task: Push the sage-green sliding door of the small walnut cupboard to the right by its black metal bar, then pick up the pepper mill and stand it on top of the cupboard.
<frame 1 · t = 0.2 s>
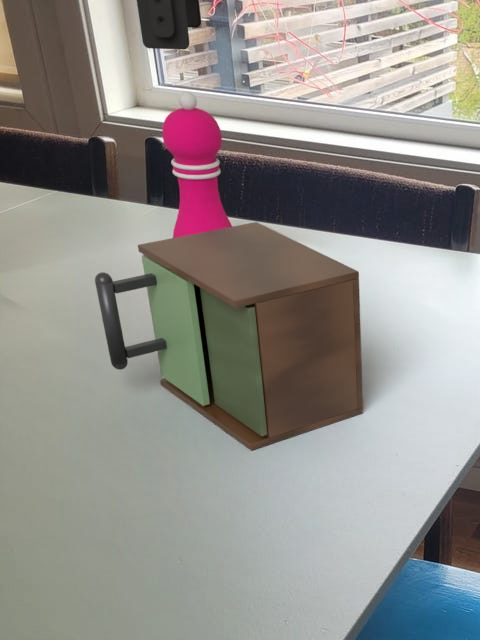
hand: (174, 36, 75), 29 cm above the table, tool pointing down, fingers open, 9 cm apart
cupboard: (269, 396, 93), on the table
pepper mill: (211, 288, 114), on the table
closet door: (149, 337, 87), point 7 cm above the table, slide at 0.0 cm
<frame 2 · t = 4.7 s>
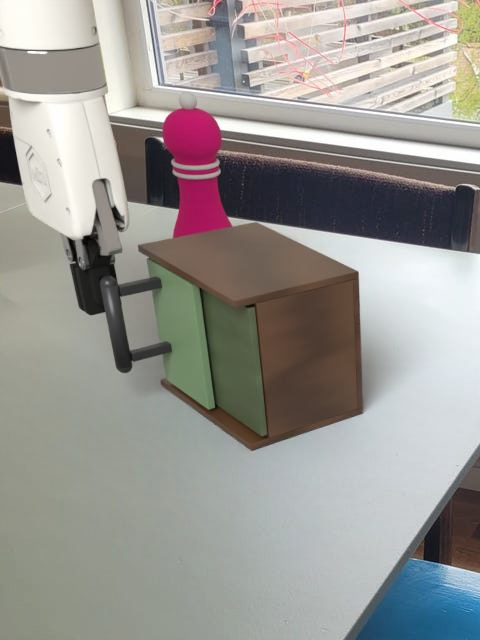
hand: (101, 308, 87), 8 cm above the table, tool pointing down, fingers closed
closet door: (154, 341, 86), point 6 cm above the table, slide at 0.9 cm, touching gripper
everything else where it was.
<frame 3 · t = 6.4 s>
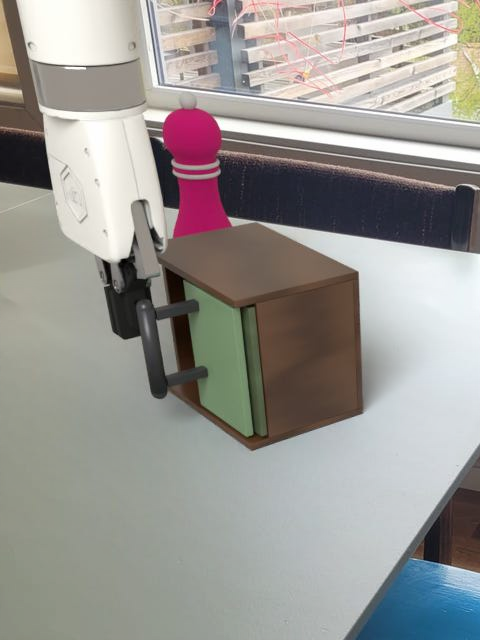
hand: (135, 332, 83), 8 cm above the table, tool pointing down, fingers closed
closet door: (191, 366, 83), point 7 cm above the table, slide at 7.3 cm, touching gripper
everything else where it was.
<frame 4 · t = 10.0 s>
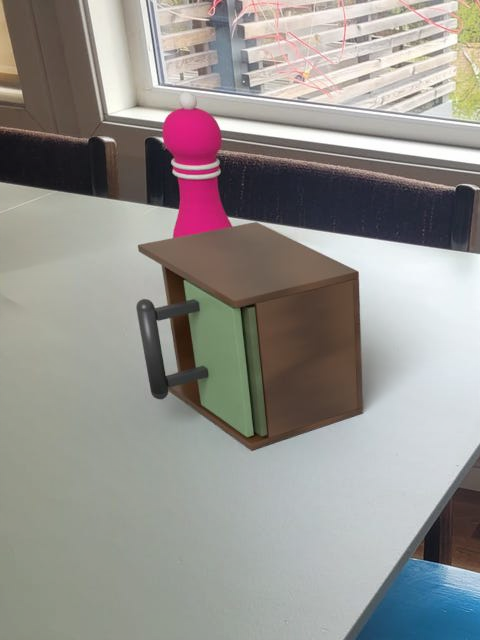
closet door: (191, 366, 83), point 6 cm above the table, slide at 7.4 cm
everything else where it was.
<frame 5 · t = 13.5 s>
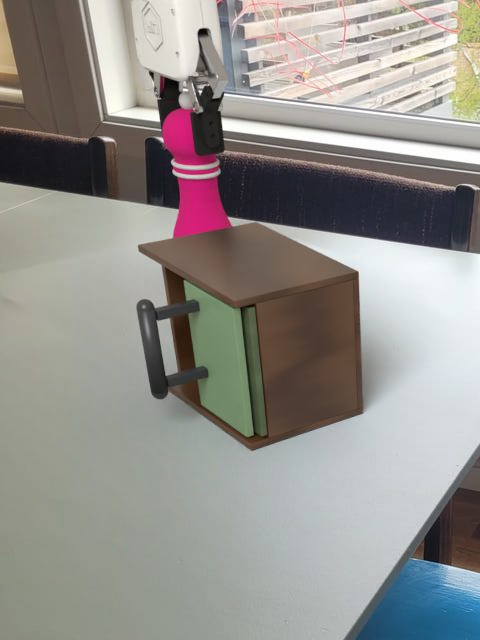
hand: (193, 144, 105), 15 cm above the table, tool pointing down, fingers closed on pepper mill, 6 cm apart
pepper mill: (211, 288, 114), on the table, touching gripper
everything else where it was.
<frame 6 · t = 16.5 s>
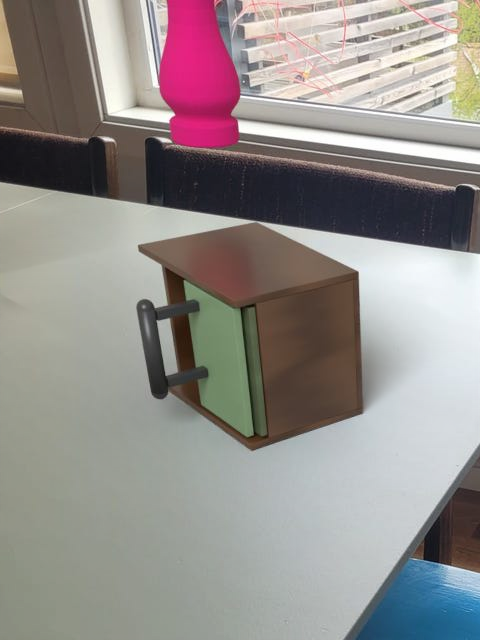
pepper mill: (206, 142, 94), point 18 cm above the table, touching gripper
everything else where it was.
when the fingers open (28 cm above the table, at t = 19.6 s): pepper mill stays where it is, resting on cupboard.
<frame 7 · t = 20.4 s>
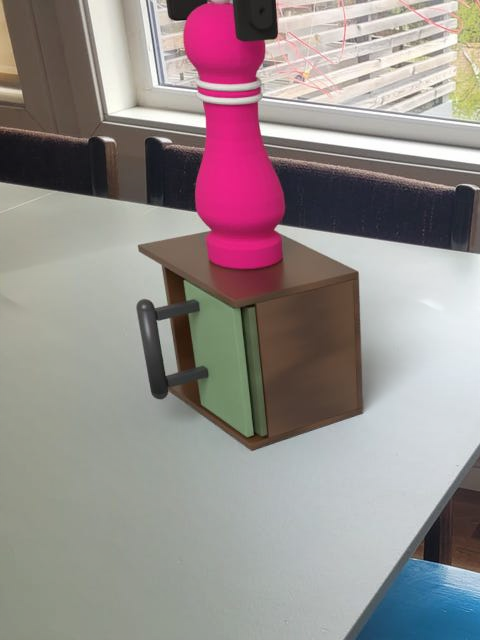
hand: (222, 29, 74), 30 cm above the table, tool pointing down, fingers open, 9 cm apart
pepper mill: (246, 259, 85), point 13 cm above the table, touching cupboard
everything else where it was.
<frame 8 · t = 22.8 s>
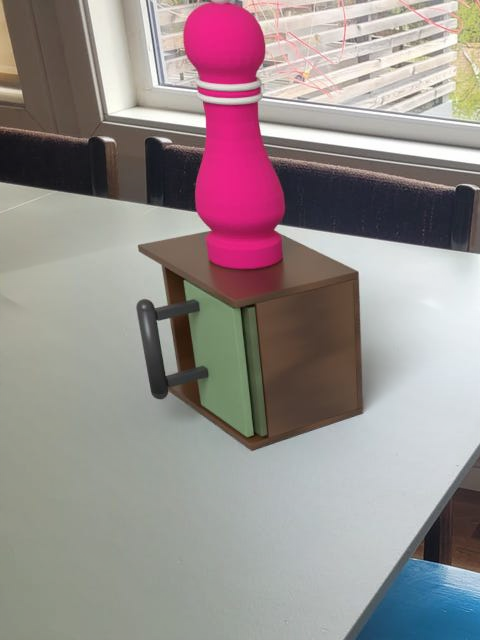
nothing on the table moved.
at the end: closet door slide at 7.4 cm; pepper mill inside the target area on the cupboard (0.0 cm from its centre), point 12.8 cm above the cupboard's base; pepper mill tilted 0° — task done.
